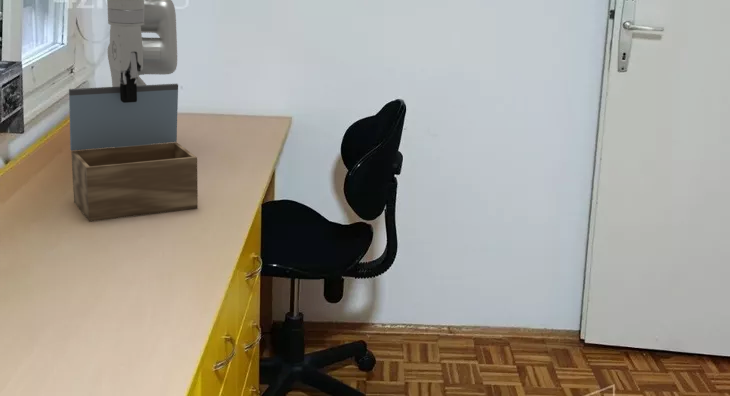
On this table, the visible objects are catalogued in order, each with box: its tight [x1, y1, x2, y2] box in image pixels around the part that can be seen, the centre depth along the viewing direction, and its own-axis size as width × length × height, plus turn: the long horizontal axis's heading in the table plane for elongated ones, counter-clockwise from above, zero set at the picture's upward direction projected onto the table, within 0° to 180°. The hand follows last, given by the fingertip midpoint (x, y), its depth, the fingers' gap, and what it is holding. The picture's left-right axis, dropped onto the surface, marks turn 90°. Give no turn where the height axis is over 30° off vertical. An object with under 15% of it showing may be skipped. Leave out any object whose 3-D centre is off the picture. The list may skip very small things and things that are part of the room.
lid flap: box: [68, 83, 179, 152], centre depth 199 cm, size 14×24×1 cm
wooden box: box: [70, 142, 199, 223], centre depth 197 cm, size 14×24×12 cm, turn 120°
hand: (128, 101), depth 195 cm, fingers closed
